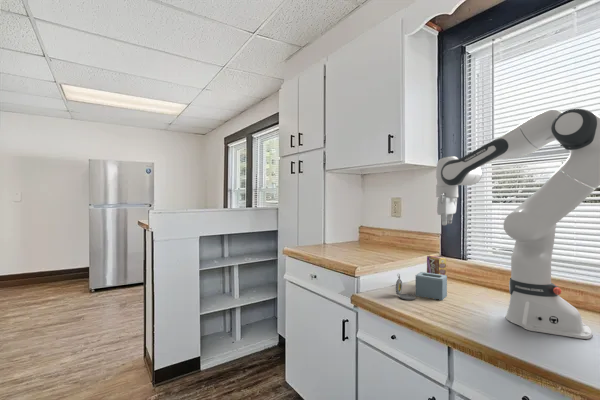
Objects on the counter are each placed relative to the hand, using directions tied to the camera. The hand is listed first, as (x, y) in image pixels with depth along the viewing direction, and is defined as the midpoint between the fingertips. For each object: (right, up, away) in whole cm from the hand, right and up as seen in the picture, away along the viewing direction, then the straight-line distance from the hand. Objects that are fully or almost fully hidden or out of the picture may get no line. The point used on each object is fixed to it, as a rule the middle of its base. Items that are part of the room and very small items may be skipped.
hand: (446, 224), depth 137 cm
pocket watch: (-20, -31, -5) cm, 38 cm away
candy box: (-1, -31, +8) cm, 33 cm away
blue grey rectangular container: (-8, -31, -2) cm, 32 cm away
